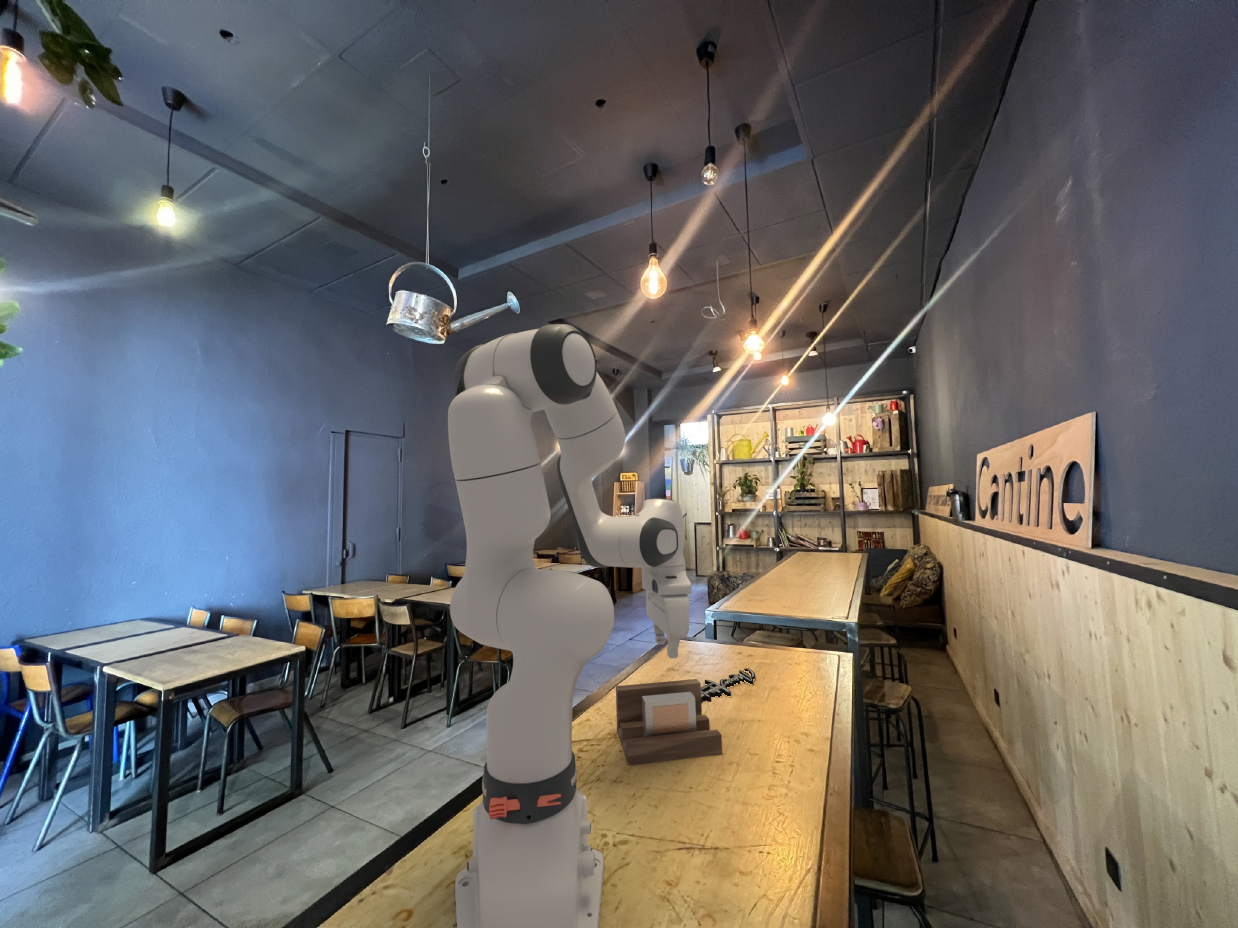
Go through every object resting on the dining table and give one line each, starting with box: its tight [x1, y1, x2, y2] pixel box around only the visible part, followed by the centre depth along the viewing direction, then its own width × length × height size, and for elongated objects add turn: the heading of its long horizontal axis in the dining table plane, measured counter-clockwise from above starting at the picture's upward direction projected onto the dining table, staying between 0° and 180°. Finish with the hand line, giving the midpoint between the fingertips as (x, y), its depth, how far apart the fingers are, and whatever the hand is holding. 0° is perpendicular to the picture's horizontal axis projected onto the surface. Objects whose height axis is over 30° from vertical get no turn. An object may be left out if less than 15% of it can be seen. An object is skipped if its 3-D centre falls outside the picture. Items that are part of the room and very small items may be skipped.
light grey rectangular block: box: [642, 692, 696, 737], centre depth 94 cm, size 3×10×8 cm, turn 99°
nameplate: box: [701, 667, 756, 705], centre depth 123 cm, size 28×2×10 cm
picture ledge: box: [615, 678, 723, 766], centre depth 96 cm, size 14×18×9 cm
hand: (666, 650), depth 95 cm, fingers open, 8 cm apart
